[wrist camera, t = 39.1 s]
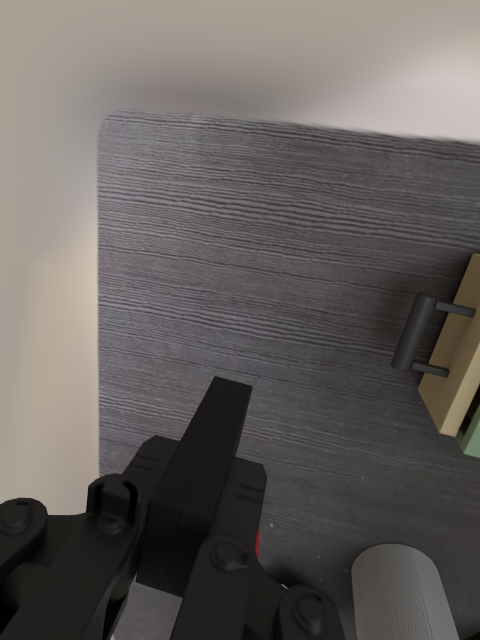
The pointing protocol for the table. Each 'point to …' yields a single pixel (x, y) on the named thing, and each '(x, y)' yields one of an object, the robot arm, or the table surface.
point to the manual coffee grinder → (474, 637)
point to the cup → (399, 596)
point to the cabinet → (470, 435)
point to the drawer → (447, 353)
